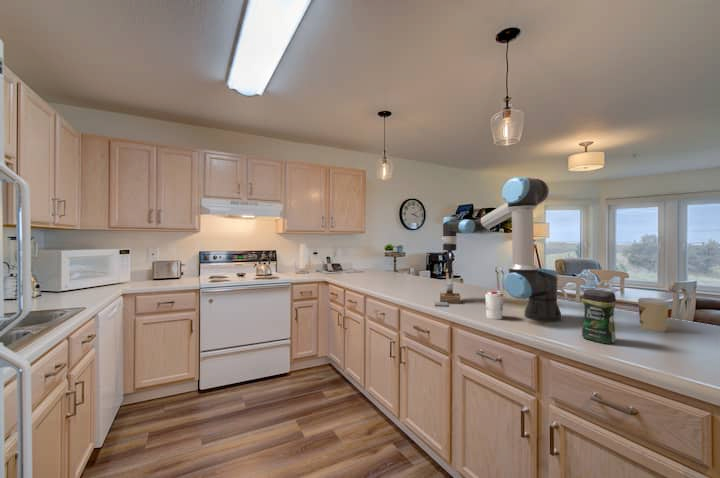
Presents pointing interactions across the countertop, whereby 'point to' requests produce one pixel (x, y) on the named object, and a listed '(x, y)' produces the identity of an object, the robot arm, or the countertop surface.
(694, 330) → the countertop surface
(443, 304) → the rest mat
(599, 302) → the coffee jar
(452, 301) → the socket block
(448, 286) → the gold and silver cylinder
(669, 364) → the countertop surface
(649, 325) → the coffee cup
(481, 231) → the robot arm
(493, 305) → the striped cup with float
